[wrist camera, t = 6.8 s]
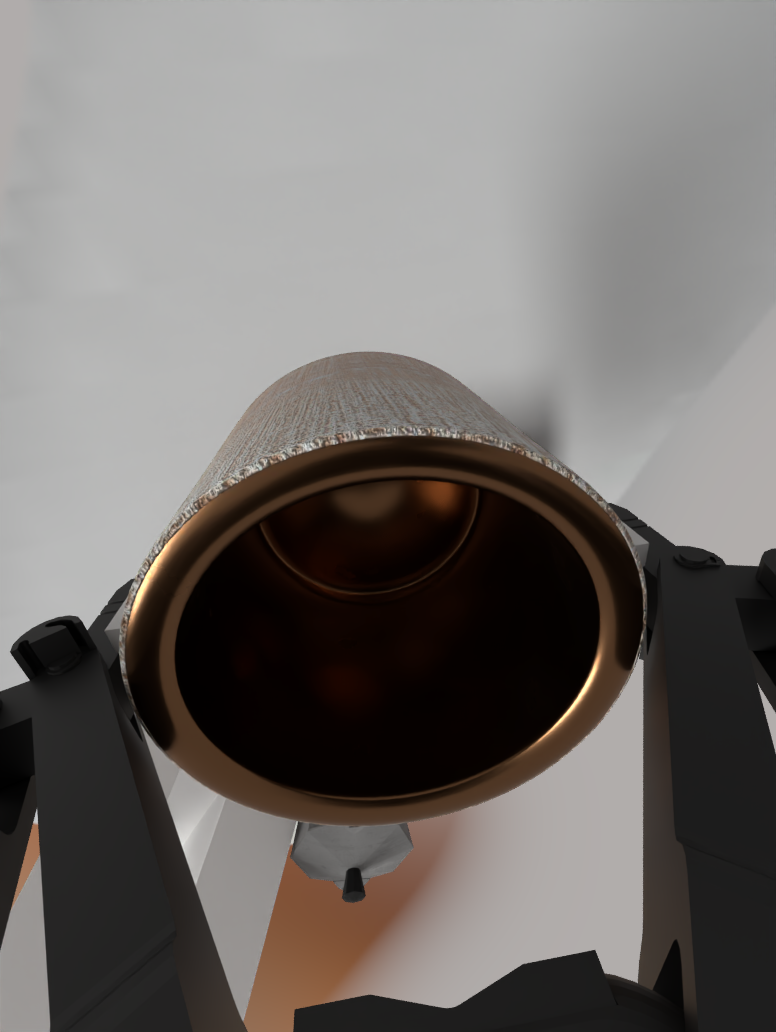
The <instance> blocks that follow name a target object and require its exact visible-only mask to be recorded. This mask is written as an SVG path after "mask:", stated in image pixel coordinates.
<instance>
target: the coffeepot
mask: <svg viewBox="0 0 776 1032" xmlns="http://www.w3.org/2000/svg"><path fill="white" fill-rule="evenodd" d="M412 849H413V844H412V840H411V837H410V833H409V829H408V825H407V823H401V824H392V825H380V826H332V825H320V824H312V823H305V822H299V821H298V825H297V829H296V834H295V839H294V843H293V848H292V853H291V856H290V857H291V859H292V860H293V861H294V862H295V863H296V864H297V865H298V866H299V867H300V868H301V869H302V870H303V871H304V873H305V874H306V875H307V876H308V877H309V878H311V879H320V880H328V881H333V882H334V883H335V884H336V885H337V887H338V888H339V889H340V888H341V889H342V890H343V896H342V898H343V900H344V901H345V902H352V903H354V902H358V901H361V900H363V898H364V897H365V896H366V895H365V890H364V885H365V884H366V883H367V882H368V881H369V879H370V878H372V877H375V876H379V875H382V874H385V873H389V872H392V871H394V870H395V869H396V867H397V866H398V865H399V864H400V863H401V862H402V861H403V859H404V858H405V857H406V856H407V855H408V854H409V852H410V851H411V850H412Z"/></svg>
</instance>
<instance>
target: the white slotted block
mask: <svg viewBox="0 0 776 1032" xmlns="http://www.w3.org/2000/svg"><path fill="white" fill-rule="evenodd" d="M134 713H135V712H134ZM135 715H136V714H135ZM140 724H141V723H140ZM141 727H142V730H143V733H144V735H145V738H146V741H147V744H148V747H149V750H150V753H151V756H152V759H153V762H154V765H155V768H156V771H157V774H158V777H159V780H160V783H161V786H162V789H163V792H164V795H165V798H166V800H167V803H168V806H169V809H170V812H171V815H172V818H173V821H174V824H175V827H176V830H177V833H178V836H179V839H180V842H181V845H182V848H183V851H184V854H185V857H186V860H187V863H188V865H189V868H190V871H191V874H192V877H193V880H194V883H195V886H196V889H197V892H198V895H199V898H200V901H201V904H202V907H203V910H204V913H205V916H206V919H207V922H208V925H209V928H210V930H211V933H212V936H213V939H214V942H215V945H216V948H217V951H218V954H219V957H220V960H221V963H222V966H223V969H224V972H225V975H226V978H227V981H228V984H229V987H230V990H231V993H232V995H233V998H234V1001H235V1004H236V1007H237V1009H238V1012H239V1014H240V1016H241V1019H242V1021H244V1017H245V1013H246V1009H247V1005H248V1001H249V998H250V994H251V990H252V987H253V983H254V979H255V975H256V971H257V968H258V964H259V960H260V956H261V953H262V949H263V945H264V941H265V937H266V934H267V930H268V926H269V922H270V918H271V915H272V911H273V907H274V903H275V899H276V896H277V892H278V888H279V884H280V881H281V877H282V873H283V869H284V866H285V862H286V858H287V854H288V850H289V847H290V843H291V839H292V835H293V832H294V828H295V824H296V821H294V820H289V819H284V818H280V817H276V816H272V815H269V814H265V813H262V812H259V811H256V810H253V809H250V808H247V807H245V806H242V805H240V804H237V803H235V802H233V801H230V800H228V799H226V798H224V797H222V796H220V795H218V794H216V793H215V792H213V791H211V790H209V789H208V788H206V787H204V786H203V785H201V784H200V783H198V782H197V781H195V780H194V779H192V778H191V777H189V776H188V775H187V774H186V773H184V772H183V771H182V770H180V769H179V768H178V767H177V766H176V765H175V764H174V763H173V762H172V761H170V760H169V759H168V758H167V757H166V756H165V755H164V753H163V752H162V751H161V750H160V749H159V748H158V747H157V746H156V745H155V743H154V742H153V741H152V739H151V738H150V737H149V736H148V734H147V733H146V731H145V730H144V728H143V726H142V725H141ZM0 1032H50V1013H49V997H48V980H47V963H46V946H45V929H44V913H43V896H42V879H41V862H40V856H39V857H38V859H37V861H36V863H35V865H34V867H33V869H32V871H31V873H30V875H29V877H28V879H27V881H26V882H25V884H24V886H23V889H22V890H21V892H20V894H19V896H18V898H17V900H16V902H15V904H14V906H13V908H12V910H11V912H10V915H9V919H8V922H7V926H6V930H5V934H4V938H3V942H2V946H1V950H0Z"/></svg>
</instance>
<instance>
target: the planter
mask: <svg viewBox="0 0 776 1032" xmlns="http://www.w3.org/2000/svg"><path fill="white" fill-rule="evenodd" d="M646 621H647V589H646V582H645V576H644V572H643V568H642V564H641V560H640V558H639V555H638V552H637V549H636V547H635V545H634V543H633V541H632V539H631V537H630V535H629V533H628V531H627V529H626V528H625V526H624V525H623V523H622V521H621V520H620V518H619V517H618V515H617V514H616V513H615V512H614V510H613V509H612V508H611V507H610V506H609V504H608V503H607V502H606V501H605V500H604V499H603V498H602V497H601V496H600V495H599V494H598V493H597V492H596V491H595V490H594V489H593V488H592V487H591V486H590V485H589V484H588V483H587V482H586V481H584V480H583V479H582V478H581V477H579V476H578V475H577V474H576V473H574V472H573V471H572V470H571V469H569V468H568V467H567V466H566V465H564V464H563V463H562V462H561V461H559V460H558V459H557V458H555V457H554V456H553V455H551V454H550V453H549V452H547V451H546V450H545V449H543V448H542V447H541V446H540V445H538V444H537V443H536V442H534V441H533V440H532V439H531V438H529V437H528V436H527V435H525V434H524V433H523V432H522V431H520V430H519V429H518V428H516V427H515V426H514V425H513V424H511V423H510V422H509V421H508V420H507V419H505V418H504V417H503V416H502V415H500V414H499V413H498V412H497V411H496V410H494V409H493V408H492V407H491V406H490V405H488V404H487V403H486V402H485V401H484V400H482V399H481V398H480V397H479V396H477V395H476V394H475V393H474V392H472V391H471V390H470V389H469V388H467V387H466V386H465V385H464V384H462V383H461V382H460V381H458V380H457V379H455V378H454V377H452V376H451V375H450V374H448V373H446V372H444V371H443V370H441V369H439V368H437V367H435V366H433V365H430V364H428V363H426V362H423V361H420V360H417V359H415V358H411V357H407V356H403V355H398V354H392V353H384V352H354V353H345V354H339V355H334V356H330V357H326V358H323V359H320V360H317V361H314V362H311V363H309V364H306V365H304V366H302V367H300V368H297V369H296V370H294V371H292V372H290V373H288V374H287V375H285V376H284V377H282V378H281V379H279V380H278V381H276V382H275V383H274V384H272V385H271V386H270V387H269V388H267V389H266V390H265V391H264V392H263V393H262V394H261V395H260V396H259V397H258V398H257V399H256V400H255V401H254V402H253V403H252V404H251V405H250V407H249V408H248V409H247V410H246V412H245V413H244V415H243V416H242V417H241V419H240V420H239V421H238V423H237V424H236V426H235V427H234V429H233V430H232V432H231V433H230V435H229V436H228V438H227V439H226V441H225V442H224V444H223V445H222V447H221V448H220V450H219V451H218V453H217V454H216V456H215V457H214V459H213V460H212V462H211V463H210V465H209V466H208V468H207V469H206V471H205V472H204V474H203V475H202V477H201V478H200V480H199V481H198V482H197V484H196V485H195V487H194V488H193V490H192V491H191V493H190V494H189V495H188V497H187V498H186V500H185V501H184V502H183V504H182V505H181V507H180V508H179V510H178V511H177V512H176V514H175V515H174V517H173V518H172V519H171V521H170V522H169V524H168V525H167V526H166V528H165V529H164V531H163V532H162V533H161V535H160V536H159V538H158V539H157V541H156V542H155V543H154V545H153V546H152V548H151V550H150V551H149V553H148V555H147V556H146V558H145V560H144V562H143V563H142V565H141V567H140V569H139V571H138V573H137V575H136V577H135V580H134V582H133V584H132V586H131V588H130V591H129V594H128V597H127V600H126V603H125V607H124V611H123V616H122V621H121V628H120V638H119V656H120V665H121V673H122V678H123V682H124V686H125V690H126V693H127V695H128V698H129V701H130V704H131V706H132V708H133V710H134V712H135V714H136V716H137V718H138V720H139V722H140V723H141V725H142V726H143V728H144V730H145V731H146V733H147V734H148V736H149V737H150V738H151V739H152V741H153V742H154V743H155V745H156V746H157V747H158V748H159V749H160V750H161V751H162V752H163V753H164V755H165V756H166V757H167V758H168V759H169V760H170V761H172V762H173V763H174V764H175V765H176V766H177V767H178V768H179V769H180V770H182V771H183V772H184V773H186V774H187V775H188V776H189V777H191V778H192V779H194V780H195V781H197V782H198V783H200V784H201V785H203V786H204V787H206V788H208V789H209V790H211V791H213V792H215V793H216V794H218V795H220V796H222V797H224V798H226V799H228V800H230V801H233V802H235V803H237V804H240V805H242V806H245V807H247V808H250V809H253V810H256V811H259V812H262V813H265V814H269V815H272V816H276V817H280V818H284V819H289V820H294V821H299V822H305V823H312V824H320V825H332V826H380V825H392V824H401V823H408V822H414V821H420V820H425V819H429V818H434V817H439V816H442V815H447V814H450V813H454V812H457V811H461V810H464V809H467V808H470V807H473V806H475V805H478V804H481V803H483V802H486V801H488V800H491V799H493V798H495V797H498V796H500V795H502V794H504V793H507V792H509V791H511V790H512V789H515V788H517V787H519V786H520V785H522V784H524V783H525V782H527V781H529V780H531V779H533V778H534V777H536V776H538V775H539V774H541V773H542V772H543V771H545V770H547V769H548V768H549V767H551V766H552V765H553V764H555V763H557V762H558V761H559V760H561V759H562V758H563V757H564V756H566V755H567V754H568V753H569V752H571V751H572V750H573V749H574V748H575V747H576V746H578V745H579V744H580V743H581V742H582V741H583V740H584V739H585V738H586V737H587V736H588V735H589V734H590V733H591V732H592V731H593V730H594V729H595V728H596V727H597V725H598V724H599V723H600V722H601V721H602V720H603V719H604V717H605V716H606V715H607V713H608V712H609V711H610V709H611V708H612V707H613V705H614V704H615V702H616V701H617V699H618V698H619V696H620V695H621V693H622V691H623V689H624V688H625V686H626V684H627V682H628V680H629V678H630V676H631V674H632V672H633V670H634V667H635V665H636V662H637V659H638V657H639V654H640V651H641V647H642V643H643V639H644V634H645V628H646Z"/></svg>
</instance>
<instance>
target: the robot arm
mask: <svg viewBox="0 0 776 1032" xmlns="http://www.w3.org/2000/svg"><path fill="white" fill-rule="evenodd" d="M608 504H609V506H610V507H611V508H612V509H613V510H614V512H615V513H616V514H617V515H618V517H619V518H620V520H621V521H622V523H623V525H624V526H625V528H626V529H627V531H628V533H629V535H630V537H631V539H632V541H633V543H634V545H635V547H636V549H637V552H638V555H639V558H640V560H641V564H642V568H643V572H644V576H645V582H646V589H647V621H646V628H645V634H644V639H643V643H642V647H641V652H640V657H639V659H642V660H644V676H643V677H644V678H643V679H644V680H643V686H644V688H643V689H644V690H643V694H644V696H643V697H644V698H643V699H644V700H643V701H644V702H643V703H644V705H643V707H644V709H643V715H644V718H643V719H644V720H643V725H644V726H643V727H644V728H643V730H644V731H643V737H644V738H643V740H644V741H643V742H644V743H643V748H644V749H643V751H644V752H643V762H644V763H643V934H642V945H641V952H640V960H639V974H638V983H636V982H633V981H630V980H627V979H624V978H621V977H618V976H615V975H610V974H605V973H604V971H603V969H602V966H601V964H600V961H599V959H598V956H597V953H596V951H595V950H592V951H587V952H582V953H578V954H572V955H567V956H562V957H557V958H552V959H547V960H542V961H537V962H532V963H527V964H523V965H521V966H520V967H518V968H516V969H515V970H513V971H512V972H510V973H509V974H507V975H505V976H504V977H502V978H501V979H499V980H498V981H496V982H494V983H493V984H491V985H490V986H488V987H487V988H485V989H483V990H482V991H480V992H479V993H477V994H476V995H474V996H473V997H471V998H469V999H468V1000H466V1001H465V1002H463V1003H462V1004H460V1005H458V1006H456V1007H453V1008H440V1007H435V1006H429V1005H423V1004H418V1003H413V1002H407V1001H402V1000H396V999H391V998H385V997H380V996H375V995H365V996H361V997H355V998H350V999H345V1000H340V1001H335V1002H330V1003H325V1004H320V1005H315V1006H310V1007H305V1008H300V1009H295V1013H294V1031H293V1032H776V754H775V749H774V745H773V741H772V738H771V734H770V730H769V726H768V723H767V719H766V715H765V711H764V707H763V703H762V699H761V696H760V692H759V688H758V685H759V686H760V688H761V690H762V691H763V693H764V694H765V696H766V698H767V699H768V701H769V703H770V704H771V706H772V707H773V709H774V710H775V712H776V549H771V550H768V551H765V552H764V554H763V555H762V558H761V561H760V564H759V566H737V565H726V564H725V563H724V561H723V560H722V559H721V558H720V557H718V556H717V555H715V554H714V553H711V552H708V551H706V550H704V549H700V548H695V547H690V546H675V545H674V544H672V543H671V542H669V541H668V540H667V539H666V538H664V537H663V536H662V535H660V534H659V533H658V532H656V531H655V530H653V529H652V528H651V527H650V526H649V527H648V526H647V524H646V523H644V522H643V521H642V520H638V517H636V516H635V515H634V514H632V513H631V512H630V511H628V510H627V509H625V508H622V507H619V506H617V505H614V504H612V503H608ZM134 580H135V579H131V580H130V581H128V582H127V583H126V584H125V585H123V586H122V587H121V588H120V589H118V590H117V591H116V592H115V594H114V595H113V596H112V598H111V599H110V600H109V602H108V605H106V606H105V607H104V609H103V610H102V611H101V615H98V617H97V618H96V620H95V621H94V622H93V624H92V625H91V626H90V628H89V629H88V630H87V629H86V628H85V626H84V624H83V622H82V621H81V620H80V619H79V618H78V617H76V616H70V615H69V616H63V617H57V618H54V619H51V620H49V621H46V622H44V623H42V624H40V625H38V626H36V627H34V628H32V629H30V630H29V631H28V632H26V633H25V634H23V635H22V636H21V637H20V638H19V639H18V640H17V641H16V642H15V643H14V644H13V646H12V648H11V651H10V653H11V654H12V656H13V657H14V659H15V660H16V661H17V663H18V664H19V666H20V667H21V668H22V670H23V671H24V673H25V674H26V676H27V677H28V678H29V680H30V681H28V682H25V683H23V684H20V685H17V686H14V687H12V688H9V689H6V690H3V691H1V692H0V950H1V946H2V942H3V938H4V934H5V930H6V926H7V922H8V919H9V915H10V911H11V907H12V902H13V899H14V895H15V891H16V887H17V883H18V879H19V876H20V871H21V868H22V864H23V860H24V856H25V852H26V848H27V844H28V840H29V836H30V833H31V829H32V825H33V821H34V817H35V813H36V809H37V812H38V828H39V845H40V862H41V879H42V896H43V913H44V929H45V946H46V963H47V980H48V997H49V1013H50V1032H248V1031H247V1029H246V1027H245V1025H244V1023H243V1021H242V1019H241V1016H240V1014H239V1012H238V1009H237V1007H236V1004H235V1001H234V998H233V995H232V993H231V990H230V987H229V984H228V981H227V978H226V975H225V972H224V969H223V966H222V963H221V960H220V957H219V954H218V951H217V948H216V945H215V942H214V939H213V936H212V933H211V930H210V928H209V925H208V922H207V919H206V916H205V913H204V910H203V907H202V904H201V901H200V898H199V895H198V892H197V889H196V886H195V883H194V880H193V877H192V874H191V871H190V868H189V865H188V863H187V860H186V857H185V854H184V851H183V848H182V845H181V842H180V839H179V836H178V833H177V830H176V827H175V824H174V821H173V818H172V815H171V812H170V809H169V806H168V803H167V800H166V798H165V795H164V792H163V789H162V786H161V783H160V780H159V777H158V774H157V771H156V768H155V765H154V762H153V759H152V756H151V753H150V750H149V747H148V744H147V741H146V738H145V735H144V733H143V730H142V727H141V724H140V722H139V720H138V718H137V716H136V715H135V713H134V710H133V708H132V706H131V704H130V701H129V698H128V695H127V693H126V690H125V686H124V682H123V678H122V673H121V665H120V656H119V638H120V628H121V621H122V616H123V611H124V607H125V603H126V600H127V597H128V594H129V591H130V588H131V586H132V584H133V582H134ZM757 683H758V684H757Z"/></svg>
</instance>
